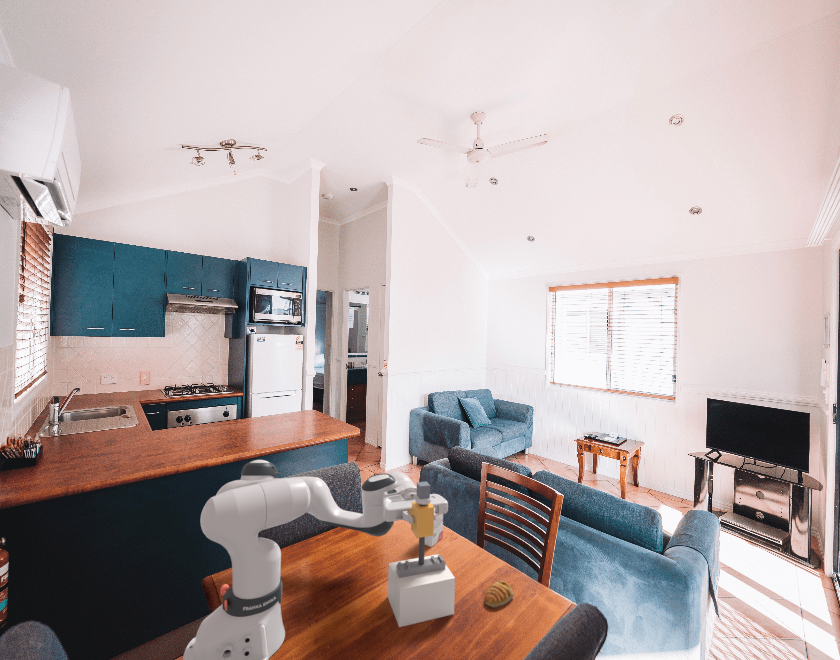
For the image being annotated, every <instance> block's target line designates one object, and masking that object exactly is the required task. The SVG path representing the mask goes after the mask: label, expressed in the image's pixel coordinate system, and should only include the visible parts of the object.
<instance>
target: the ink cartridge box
mask: <svg viewBox="0 0 840 660" xmlns="http://www.w3.org/2000/svg"><path fill="white" fill-rule="evenodd" d="M443 537H444V514H440V515H436V520H434V529H433V536H427V537H425V545H424V546H427V547H434V546H435V545H436V544H437V543H438V542H440V540H441V539H442V538H443Z"/></svg>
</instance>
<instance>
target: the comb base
mask: <svg viewBox="0 0 840 660" xmlns="http://www.w3.org/2000/svg"><path fill="white" fill-rule="evenodd" d="M418 561H419V557H416V558H409V559H405V560H404V559H403V560H398V561H393V562H389V563H388V577H387V578H388V579H387V598H388V602H389V604H390V607H391V609H392V613H393V614H394V618H395V619H396V622H397V625H398V628H401V627H406V626H410V625H415V624H419V623H422V622H426V621H427V622H428V621H432V620H435V619H440V618H443V617H447V616H453V615H455V600H456V599H455V597H456V596H455V591H456V577H455V576H454V574H453V573H452V571H451V570H450V569H449V567H448V566H447V564H446V560H445V559H444V558H443V555H441V554H439V553H438V554H437V553H436V554H432V555H426V556H424V564H423V565H419V564H418Z"/></svg>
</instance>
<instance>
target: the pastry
mask: <svg viewBox="0 0 840 660" xmlns="http://www.w3.org/2000/svg"><path fill="white" fill-rule="evenodd" d="M513 597H514V592H513V589H512V588H511V585H510V584H509V583H508V582H507V581H505V580H500V579H499V580H497V581H496V582H494V583H492V584H491V585H490V586H489V587H488V588H487V590H486V592H485V596H484V597H483V598H484V604H485V605H486V606H489V607H490V608H498V607H502V606H505V605H506V604H507V603H509V602H510V601H511V600H512V599H513Z"/></svg>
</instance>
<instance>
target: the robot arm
mask: <svg viewBox="0 0 840 660" xmlns="http://www.w3.org/2000/svg"><path fill="white" fill-rule="evenodd" d="M281 474H282V472H281V471H279V470H278V468H277V466H276V465H275V464H274V463H272V462H269V461H268V460H264V459H256V460H255V459H254V460H252V461H249V462H246V464H244V466H243V467H242V470H241V473H240V475H241V477H240V479H236V480H232V481H229V482H227V483H225V484H224V485H222V486H221V487H220V488H219V490H217V493H216V495H214V496H212V497H210V498H209V499H208V500H207V501H206V503H205V505H204V506H203V509H202V511H201V513H200V521H199V522H200V527H201V531H202V533H203V534H204V535H205V537H206V538H207V539H209V540H210V541H212V542H213V543H217V544H219V545H221V546H222V547H223V548H224V549H226V551H227V553H228V555H229V556H230V561H231V569H232V583H231V584H232V585H231V586H229V584H227V583H224V584H222V585H221V586H220V589H219V591H220V592H219V593H220V594H219V595H220V596H221V597H222V599H221V600H222V601H221V602H222V603H221V605H219V606H218V607H217V608H215V610H214V611H213V612H211V613H209V615H207V616H206V617H205V618H204V619H203V621H202V622H201V623H200V625H199V627H198V630H197V632H196V635H195V637H193V638H192V639H191V640H190V641H189V642H188V644H187V646H186V647H185V649H184V652H183V657H182V660H270V658H271V657H272V656H273V655H274V654H275V653H276V652H277V651H278V650H279V649H280V647H281V646H282V645H283V642H284V640H285V637H286V630H285V629H286V628H285V626H284V622H283V618H282V617H283V616H282V609H281V608H282V607H281V604H282V597H283V581H282V577H281V566H282V565H281V563H282V551H281V548H280V546H279V544H278V543H277V542H275V541H274V540H272V539H269V538H265V537H261V536H259V533H260V532H262V531H263V530H268V529H270V528H274V527H277V526H280V525H284V524H287V523H289V522H291V521H293V520H296V519H298V518H299V517H301V516H303V515H305V514H308V515H309V514H310V515H312V516H313V517H315V518H316V519H317V521H318V522H320V523H322V524H324V525H329V526H332V527H336V528H337V527H338V528H343V529H347V530H352V531H357V532H361V533H364V534H367V535H369V536H372V537H382V536H385V535H387V533H388V532H389V531H390V530H391V529H392V527H393V525H394V524H395V522H398V521H405V522H407V523H408V524H409V525H411V524H414V523H415V517H414V515H412V502H415V497H416V495H417V484H415V483H414V482H413V480H412V479H411V478H410V477H409V476H408V475H407V474H406V473H404V472H402V471H397V470H396V471H395V470H394V471H392V472H389V473H383V472H382V473H378V474H373V475H370V476H369V477H368V478H367V479H366V480H365V481H364V482H363V483H362V485H361V500H362V501H361V502H362V513H360V512H355V511H349V510H345V509H342V508H340V506H338V504H337V503H336V501H335V499H334V498H333V495H332V493H331V489H330V487H328V484H327V483H326V482H325V481H324V480H323V479H322V478H320V477H317V476H291V477H283V478H282V477H281V478H279V477H278V476H277V475H281ZM430 496H431V502H430V503H431V504H432V505H433V506H434V520H436V515H440V514H443V515H446V514H447V513H448V511H449V502H448V500H447V499H446V498H445V497H443V496H441V495H440V494H437V493H432V494H431V493H430Z"/></svg>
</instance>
